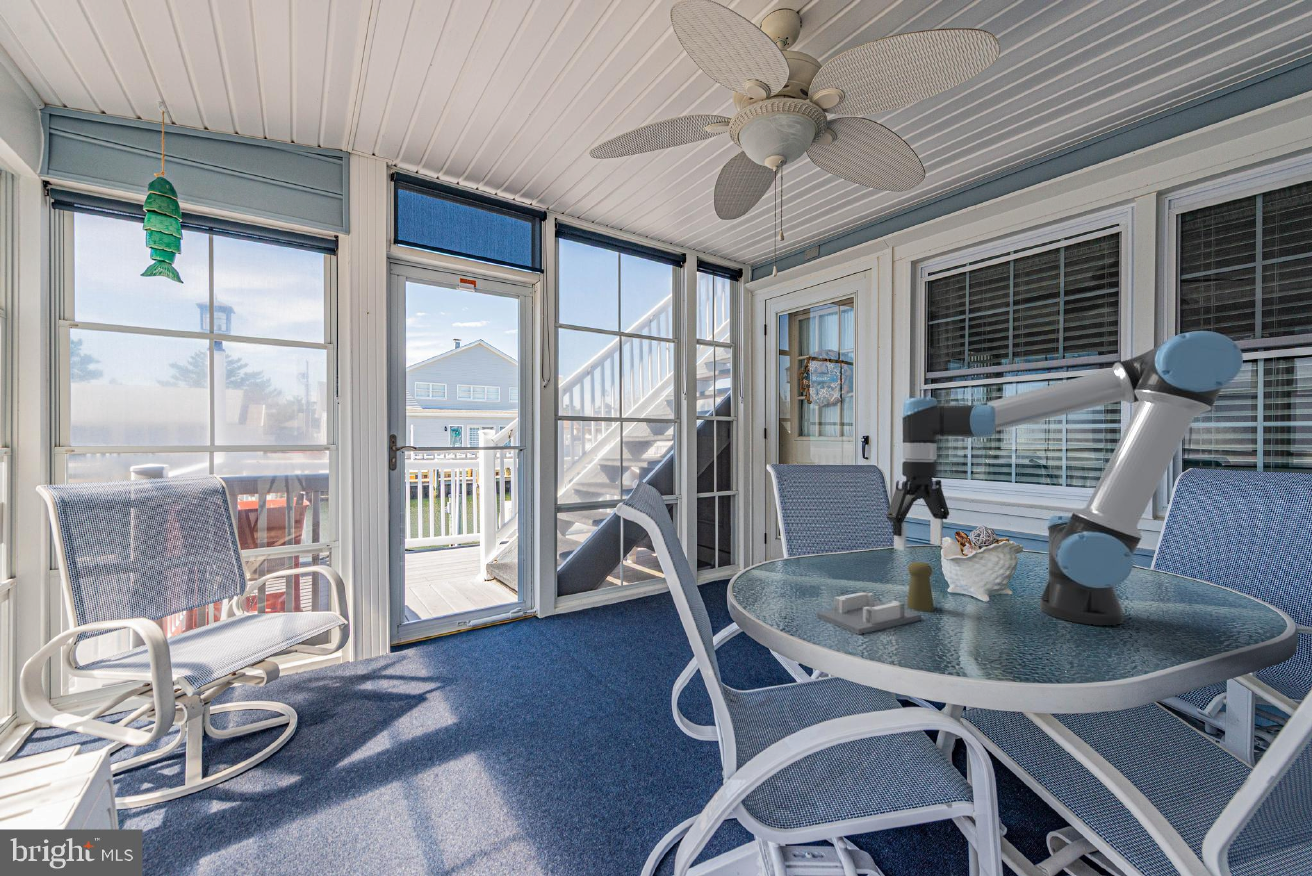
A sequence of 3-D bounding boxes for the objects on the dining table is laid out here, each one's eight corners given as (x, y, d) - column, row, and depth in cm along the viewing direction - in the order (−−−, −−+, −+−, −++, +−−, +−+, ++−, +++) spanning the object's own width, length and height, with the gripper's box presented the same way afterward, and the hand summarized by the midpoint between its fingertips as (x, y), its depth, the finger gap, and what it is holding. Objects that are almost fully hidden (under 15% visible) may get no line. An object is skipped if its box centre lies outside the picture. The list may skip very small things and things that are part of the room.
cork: (933, 612, 123) (932, 566, 123) (905, 608, 126) (904, 563, 127) (935, 606, 128) (934, 561, 129) (908, 602, 132) (907, 558, 132)
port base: (921, 619, 118) (920, 601, 119) (858, 634, 109) (858, 614, 109) (877, 605, 129) (877, 588, 129) (817, 617, 120) (817, 599, 120)
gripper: (937, 459, 137) (936, 540, 137) (871, 460, 125) (870, 548, 125) (965, 460, 130) (964, 545, 130) (898, 462, 119) (897, 554, 119)
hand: (918, 547), depth 128 cm, fingers open, 13 cm apart
